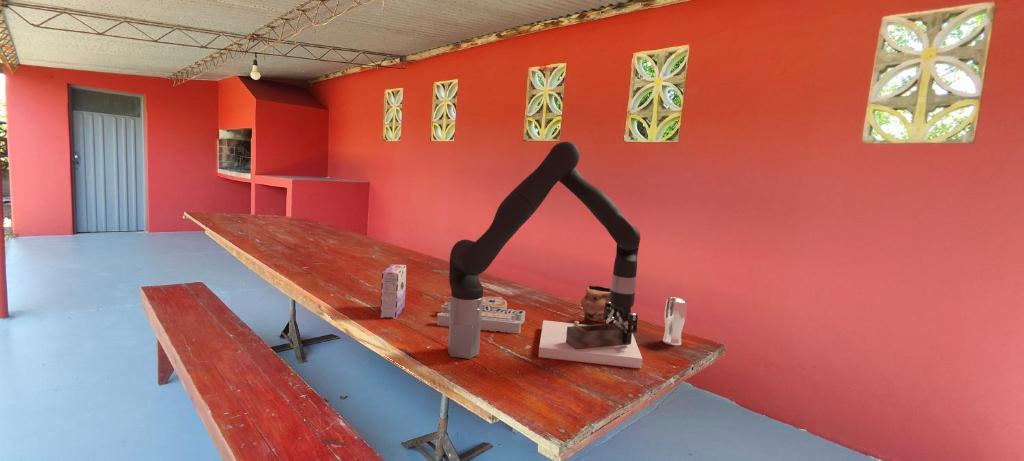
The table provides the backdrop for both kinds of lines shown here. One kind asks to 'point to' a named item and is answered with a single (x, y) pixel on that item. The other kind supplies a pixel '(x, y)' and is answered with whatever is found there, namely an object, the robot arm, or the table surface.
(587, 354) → the wall plate
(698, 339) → the table surface
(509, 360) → the table surface
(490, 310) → the sign
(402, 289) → the candy box
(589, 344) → the frame
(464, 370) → the table surface
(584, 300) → the decorative planter
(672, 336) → the beer glass
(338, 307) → the table surface
